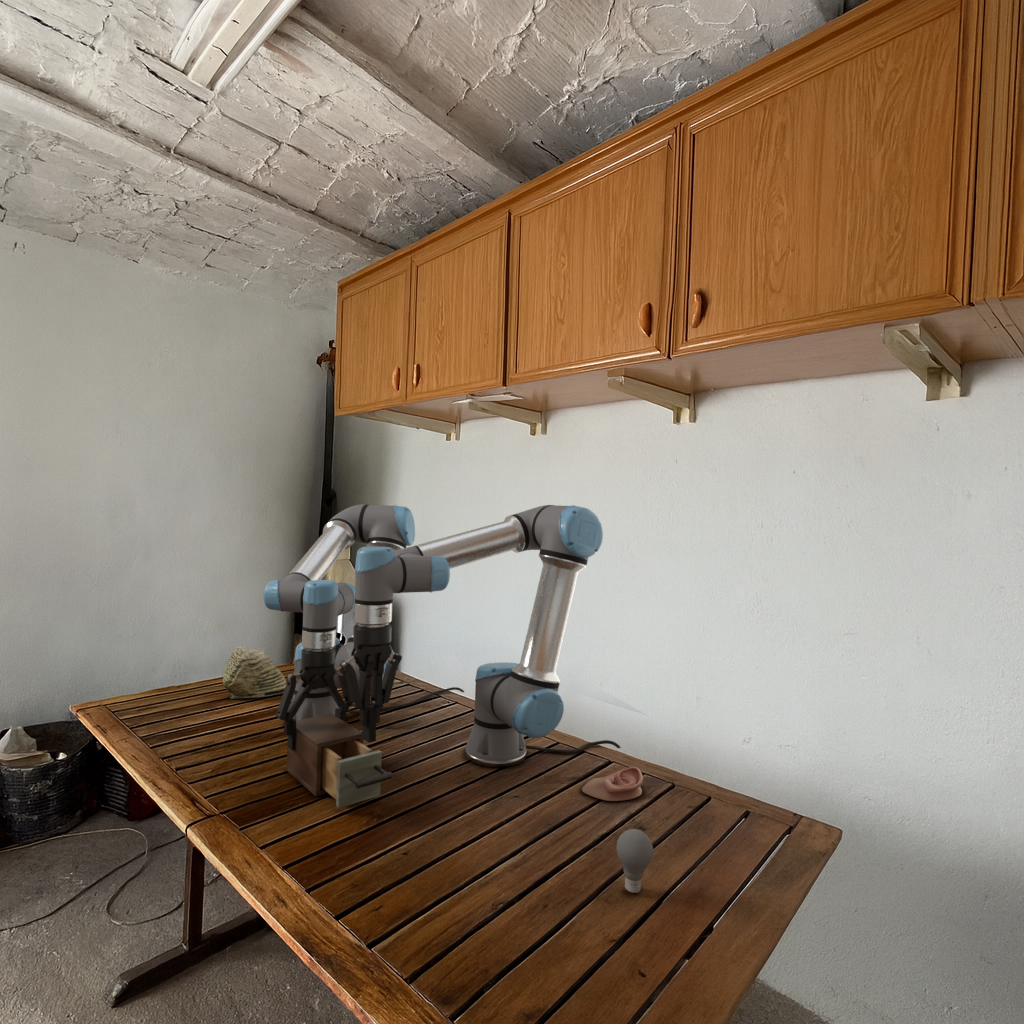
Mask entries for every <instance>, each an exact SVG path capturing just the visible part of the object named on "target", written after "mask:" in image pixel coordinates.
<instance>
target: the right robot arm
mask: <svg viewBox="0 0 1024 1024" xmlns="http://www.w3.org/2000/svg"><path fill="white" fill-rule="evenodd" d="M603 538H604V529H603V526H602V522H601V521H600V519H599V517H598V516H597V514H596V513H595V512H594V511H592V510H591V509H589V508H587V507H582V506H578V505H557V504H555V505H554V504H545V505H539V506H536V507H532V508H530V509H526V510H524V511H521V512H517V513H514V514H510V515H507V516H506V517H505V518H504V520H503V521H500V522H496V523H492V524H489V525H486V526H481V527H478V528H475V529H470V530H466V531H463V532H460V533H459V532H458V533H456V534H452V535H449V536H445V537H442V538H437V539H434V540H430V541H427V542H423V543H419V544H416V545H413V546H412V545H411V546H407V547H406V548H404V549H400V550H399V549H392V548H390V547H376V546H369V547H366V546H362V547H360V548H358V550H357V551H356V556H355V567H354V573H355V574H354V578H355V579H354V586H355V603H354V609H353V610H354V611H353V622H354V623H355V624H354V625H353V630H352V631H353V633H352V634H353V643H354V648H353V650H352V652H351V657H350V658H348V659H347V660H346V661H341V662H340V666H341V667H342V669H343V671H344V672H345V677H346V682H347V687H348V692H349V697H350V702H351V705H352V706H351V707H354V708H356V709H357V710H360V713H359V724H360V726H362V733H363V741H366V742H367V743H369V744H370V743H374V742H376V741H377V724H379V723H380V720H381V710H380V709H382V708H383V707H384V704H388V703H389V702H390V699H391V695H392V692H393V687H394V682H395V679H396V674H397V669H398V666H399V665H400V663H401V661H402V659H403V656H402V655H401V654H398V653H396V652H394V651H393V652H392V650H393V648H392V646H391V642H392V631H393V629H392V628H393V626H392V625H391V624H390V623H391V622H392V621H393V601H394V598H393V597H394V594H406V593H433V592H434V593H435V592H441V591H444V590H445V589H447V587H448V586H449V582H450V579H451V569H455V568H458V567H461V566H464V565H467V564H472V563H475V562H477V561H481V560H485V559H488V558H491V557H495V556H498V555H501V554H504V553H507V552H514V553H515V554H516V553H517V554H519V553H523V552H527V551H539V553H538V557H539V558H540V560H541V562H542V568H541V572H540V577H539V580H538V585H537V590H536V592H535V593H536V594H535V597H534V602H533V607H532V611H531V615H530V618H529V622H528V623H529V624H528V628H527V632H526V636H525V640H524V644H523V649H522V653H521V656H520V660H519V661H520V662H519V663H516V662H489V663H483V664H481V665H479V666H478V667H477V669H476V672H475V679H474V681H475V690H474V691H475V692H474V693H475V694H474V714H473V716H474V717H473V720H474V721H473V726H472V728H471V731H470V734H469V736H468V739H467V742H466V745H465V757H466V759H468V760H469V761H470V762H471V763H473V764H476V765H480V766H482V767H487V768H508V767H513V766H516V765H519V764H520V763H523V762H524V761H525V759H526V758H527V750H533V751H540V752H547V753H554V754H565V755H567V754H568V755H569V754H577V753H580V752H582V751H583V750H585V749H586V748H588V747H592V746H597V745H598V746H599V745H606V744H607V745H611V746H614V747H615V748H616V749H621V748H622V746H621V745H619V744H618V743H617V742H616V741H613V740H608V739H604V740H596V741H591V742H587V743H584V744H583V745H582V746H580V747H578V748H575V749H557V748H548V747H541V746H535V745H528V744H526V743H525V742H526V741H525V738H524V736H526V737H528V738H532V739H541V738H543V737H546V736H547V735H549V734H550V733H551V732H553V731H554V730H556V728H557V727H558V726H559V724H560V723H561V721H562V718H563V716H564V710H565V705H564V704H565V703H564V701H563V700H562V696H561V695H560V693H559V687H560V683H561V679H560V678H559V676H558V674H557V668H558V664H559V663H558V662H559V659H560V653H561V650H562V645H563V641H564V637H565V633H566V628H567V624H568V619H569V616H570V615H569V614H570V610H571V606H572V603H573V597H574V593H575V588H576V585H577V581H578V575H579V574H580V572H581V571H582V570H584V569H586V568H587V565H588V561H589V558H590V557H592V556H594V555H595V554H596V553H597V552H599V550H600V548H601V547H602V544H603ZM356 623H357V624H356ZM387 660H388V661H387ZM386 661H387V664H386V667H385V672H384V664H385V663H386ZM355 662H356V664H357V665H358V667H359V674H360V686H359V687H358V682H357V677H356V673H355V670H354V669H355ZM383 673H384V676H383V680H382V675H383Z"/></svg>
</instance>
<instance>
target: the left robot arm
mask: <svg viewBox="0 0 1024 1024" xmlns="http://www.w3.org/2000/svg"><path fill="white" fill-rule="evenodd" d="M415 537H416V524H415V519H414V515H413V512H412V510H411V509H410V508H409V507H407V506H402V505H397V504H394V505H384V504H367V503H365V504H364V503H360V504H355V505H352V506H349V507H346V508H345V509H343V510H341V511H340V512H338V513H337V514H335V515H334V516H332V518H330V519H329V520H328V521H327V523H326V524H325V525H324V526H323V528H322V534H321V535H320V536H319V537H318V539H317V540H316V541H315V542H314V543H313V545H311V547H310V548H309V549H308V550H307V552H306V553H305V554H304V555H303V557H302V558H301V559H300V560H299V561H298V562H297V563H296V565H295V566H294V567H293V568H292V570H290V572H289V573H288V574H287V575H286V576H285V578H284V579H275V580H274V579H273V580H270V581H268V582H267V584H266V585H265V587H264V590H263V602H264V606H265V607H266V608H267V609H268V610H272V611H278V612H286V613H287V612H289V613H302V633H301V642H299V643H298V644H297V645H296V647H295V652H294V653H295V654H294V659H293V661H294V672H293V673H291V672H289V673H287V674H286V687H285V690H284V692H283V693H282V695H281V699H280V702H279V704H278V707H277V710H276V713H275V717H276V718H277V719H279V720H280V721H284V722H283V724H284V725H283V732H284V734H285V735H286V736H287V743H286V744H287V745H286V748H287V747H289V748H290V749H291V750H295V743H296V721H297V720H302V719H307V718H312V717H317V716H322V715H326V714H333V715H335V716H336V717H338V718H339V719H341V720H343V721H344V722H346V723H347V714H360V709H357V710H353V709H350V707H353V706H352V705H351V702H350V697H349V692H348V687H347V682H346V677H345V672H344V671H343V669H342V667H341V666H340V662H341V661H346V660H347V659H348V658H350V657H351V652H352V650H353V648H354V643H353V633H352V634H350V635H349V636H348V637H347V642H346V644H341V641H340V639H339V638H338V637H337V621H338V620H337V619H338V617H339V616H342V615H345V614H348V613H350V612H351V611H352V610H354V603H355V585H353V584H352V583H350V582H347V581H346V582H341V581H340V582H337V581H335V580H331V579H324V577H325V575H326V574H327V573H328V571H329V570H330V569H331V568H332V567H333V565H334V563H335V562H336V561H337V560H338V558H339V557H340V556H341V554H342V553H343V552H344V550H347V549H350V548H351V547H352V546H353V545H354V544H358V543H364V544H366V545H365V547H369V546H376V547H390V548H392V549H399V550H400V549H404V548H407V547H411V546H412V545H413V544H414V542H415ZM355 624H357V623H355ZM392 652H394V650H393V649H392ZM387 661H388V660H387ZM387 661H386V663H385V664H384V672H385V667H386V664H387ZM354 670H355V673H356V677H357V682H358V687H359V686H360V674H359V667H358V665H357V664H356V662H355V669H354ZM383 676H384V673H383V675H382V680H383ZM338 689H341V692H342V695H343V697H342V696H341V693H340V691H338ZM449 691H459V692H461V693H465V690H464V689H462V688H460V687H457V686H456V687H455V686H453V687H448V688H445V689H440V690H436V691H433V692H431V693H429V694H426V695H424V696H421V697H419V698H416V699H415V700H412V701H409V702H406V703H402V704H397V705H390V706H383V708H382V709H380V711H386V710H393V709H400V708H403V707H408V706H411V705H414V704H417V703H418V702H422V701H423V700H425V699H428V698H430V697H432V696H434V695H438V694H442V693H446V692H449Z"/></svg>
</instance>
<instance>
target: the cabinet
mask: <svg viewBox="0 0 1024 1024" xmlns="http://www.w3.org/2000/svg"><path fill="white" fill-rule="evenodd" d="M354 739H356V740H357V741H359V742H360V743H362V744H363V745H364V739H363V731H361V730H359V729H357V728H355V727H354V726H352V725H351V724H349V723H348V722H347V721H346V722H344V721H343V720H341V719H339V718H338V717H336V716H335V715H333V714H326V715H322V716H317V717H312V718H307V719H302V720H297V721H296V743H295V750H291V749H290V748H289V747H287V746H286V772H287V773H289V774H290V776H292V777H293V778H294V779H296V781H298V782H299V783H300V784H301V785H302V786H303V787H305V789H307V790H308V791H309V792H310V793H311V794H312V795H314V796H315V797H320V796H322V795H323V796H324V795H326V794H329V793H328V792H327V791H325V790H324V789H323V788H322V787H321V786H320V784H321V754H322V747H325V746H329V745H333V744H338V743H342V742H346V741H350V740H354Z"/></svg>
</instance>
